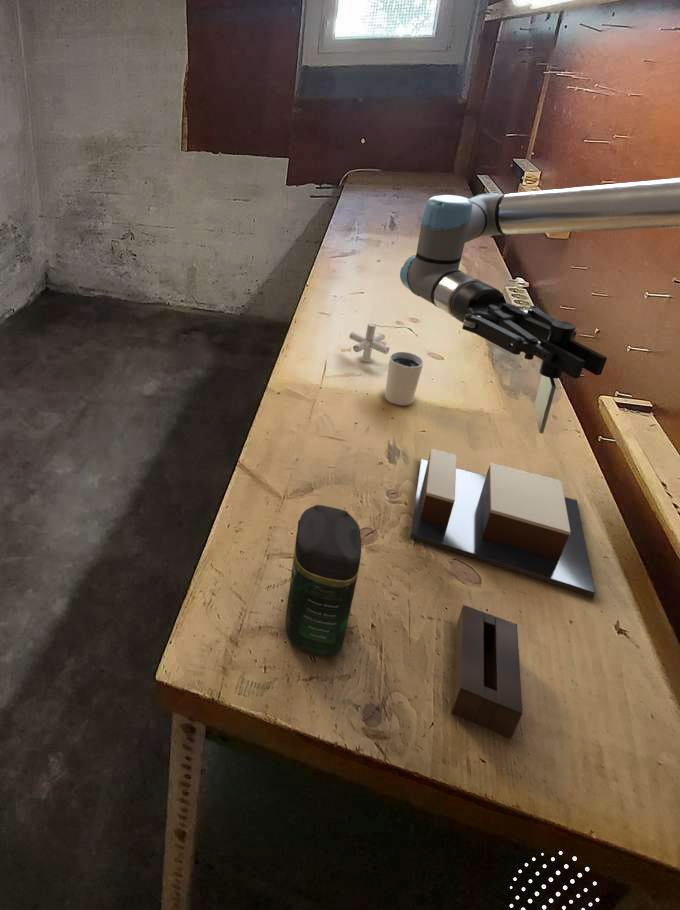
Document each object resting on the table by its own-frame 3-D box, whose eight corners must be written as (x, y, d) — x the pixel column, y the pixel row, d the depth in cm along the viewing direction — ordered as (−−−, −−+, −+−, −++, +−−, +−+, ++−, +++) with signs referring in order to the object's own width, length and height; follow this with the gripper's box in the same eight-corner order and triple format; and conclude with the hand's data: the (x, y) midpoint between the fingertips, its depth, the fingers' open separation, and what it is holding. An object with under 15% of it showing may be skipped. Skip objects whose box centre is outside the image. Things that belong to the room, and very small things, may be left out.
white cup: (380, 388, 128) (387, 350, 124) (411, 391, 127) (419, 352, 123) (385, 405, 123) (392, 366, 118) (418, 407, 121) (426, 368, 117)
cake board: (575, 504, 95) (576, 500, 95) (593, 597, 80) (595, 593, 79) (420, 462, 106) (421, 458, 105) (409, 538, 90) (410, 533, 90)
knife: (525, 405, 90) (548, 313, 84) (546, 408, 89) (571, 316, 83) (529, 431, 84) (555, 334, 77) (552, 435, 82) (580, 337, 76)
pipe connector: (396, 362, 138) (403, 326, 134) (371, 375, 133) (377, 338, 129) (361, 346, 146) (366, 312, 141) (336, 358, 141) (341, 323, 137)
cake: (550, 508, 93) (561, 480, 91) (558, 561, 84) (570, 532, 81) (482, 489, 98) (490, 462, 95) (482, 537, 88) (491, 509, 86)
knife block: (455, 629, 76) (463, 604, 74) (507, 648, 73) (517, 623, 71) (451, 713, 67) (460, 687, 65) (511, 739, 64) (522, 713, 62)
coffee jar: (344, 667, 72) (365, 566, 64) (281, 649, 75) (293, 550, 66) (345, 602, 80) (364, 506, 72) (289, 588, 83) (300, 493, 74)
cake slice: (449, 481, 100) (456, 454, 97) (446, 528, 90) (454, 500, 88) (424, 474, 102) (431, 448, 99) (419, 520, 92) (426, 492, 89)
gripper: (504, 314, 100) (630, 383, 80) (424, 325, 98) (533, 399, 77) (514, 275, 97) (649, 336, 76) (432, 285, 95) (548, 351, 74)
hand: (590, 368), depth 77 cm, fingers closed on knife, 3 cm apart
